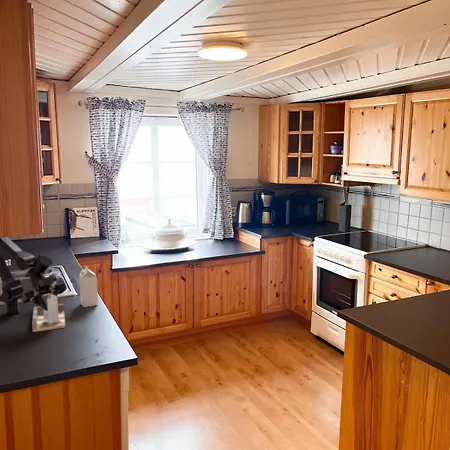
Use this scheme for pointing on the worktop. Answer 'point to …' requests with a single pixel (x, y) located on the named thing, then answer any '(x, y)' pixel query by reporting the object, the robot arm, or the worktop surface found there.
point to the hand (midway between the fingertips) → (51, 308)
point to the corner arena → (39, 319)
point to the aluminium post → (50, 309)
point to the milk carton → (88, 288)
